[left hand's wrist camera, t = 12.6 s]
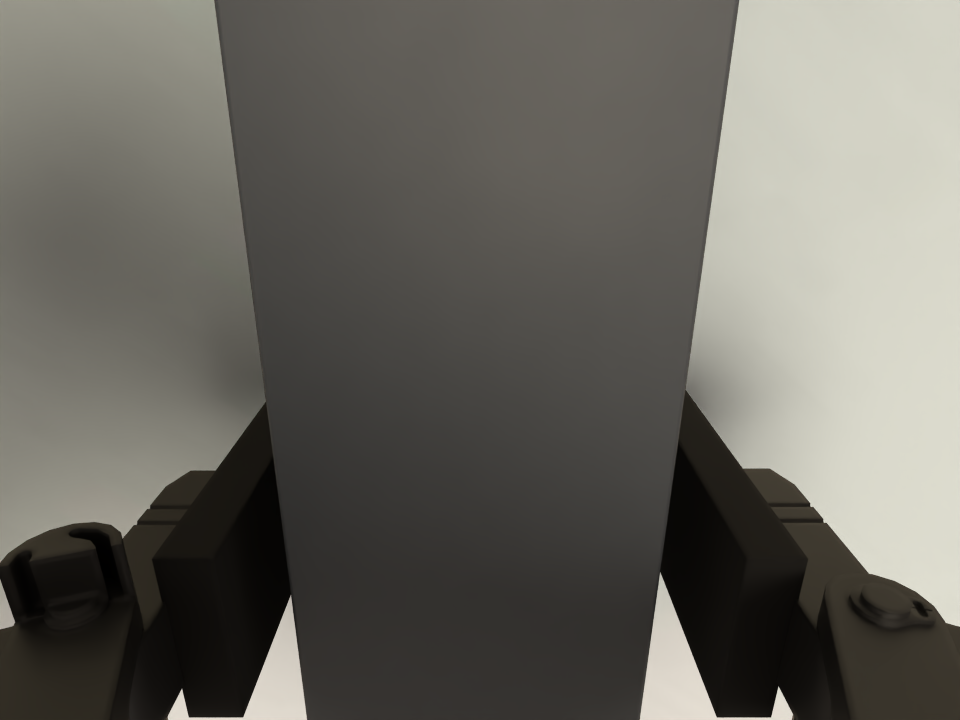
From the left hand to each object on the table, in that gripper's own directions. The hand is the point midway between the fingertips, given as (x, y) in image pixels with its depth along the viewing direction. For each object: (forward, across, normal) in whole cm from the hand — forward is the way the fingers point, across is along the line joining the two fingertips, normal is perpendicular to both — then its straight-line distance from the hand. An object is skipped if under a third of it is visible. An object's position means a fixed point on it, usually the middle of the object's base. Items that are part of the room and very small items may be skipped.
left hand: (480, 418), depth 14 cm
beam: (+2, 0, -34) cm, 34 cm away
